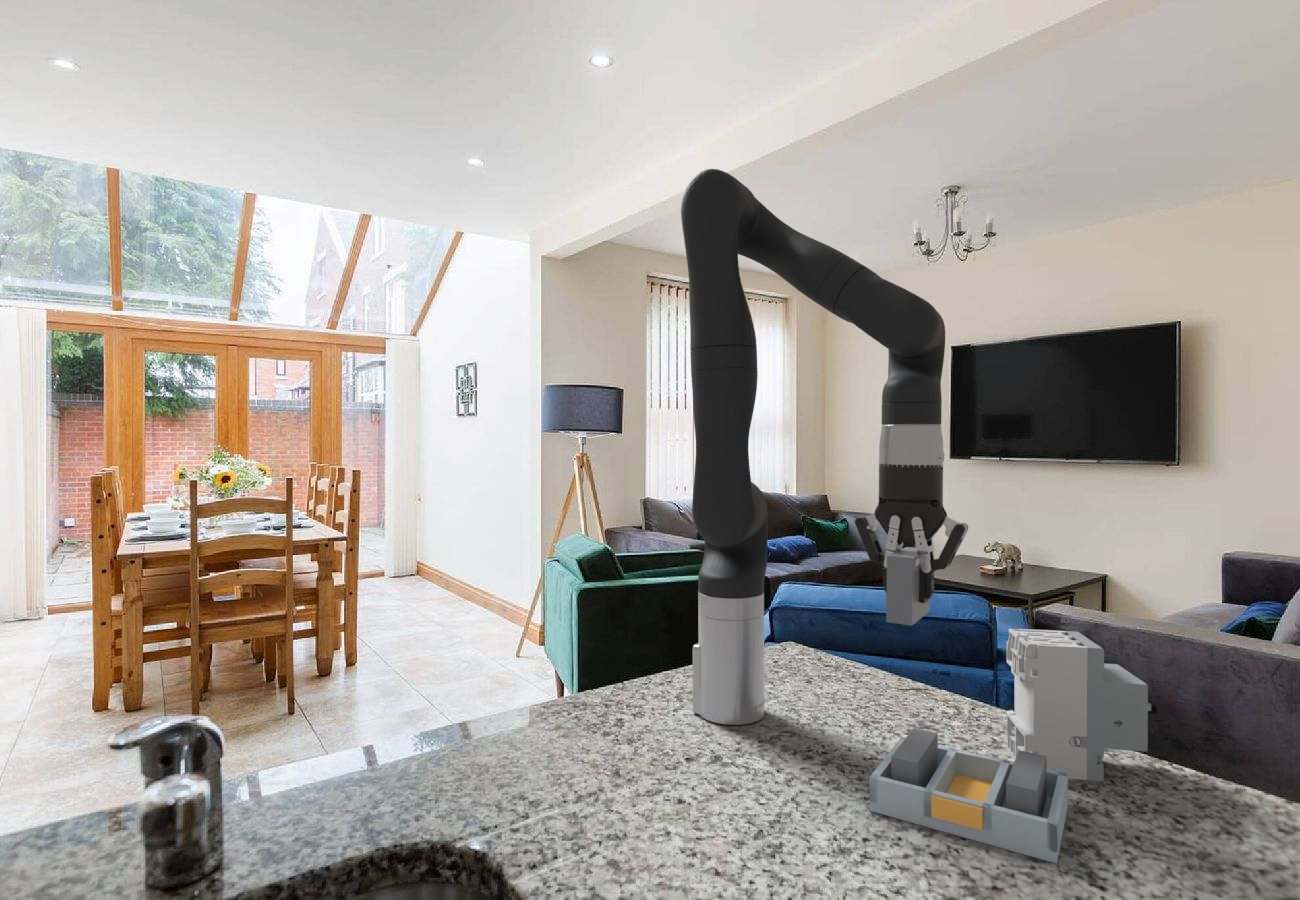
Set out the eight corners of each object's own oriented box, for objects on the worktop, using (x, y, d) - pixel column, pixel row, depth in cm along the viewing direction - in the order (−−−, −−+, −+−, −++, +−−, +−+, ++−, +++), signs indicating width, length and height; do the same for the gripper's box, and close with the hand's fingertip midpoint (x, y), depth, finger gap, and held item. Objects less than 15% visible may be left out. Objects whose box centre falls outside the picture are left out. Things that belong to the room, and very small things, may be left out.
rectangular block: (886, 621, 87) (886, 555, 87) (905, 607, 95) (906, 546, 95) (912, 625, 85) (912, 558, 85) (930, 611, 93) (930, 549, 93)
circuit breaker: (1164, 786, 80) (1165, 651, 80) (1024, 775, 83) (1025, 644, 83) (1133, 757, 87) (1134, 634, 87) (1006, 748, 90) (1006, 628, 90)
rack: (868, 811, 75) (868, 759, 75) (901, 766, 85) (901, 720, 85) (1056, 865, 65) (1056, 804, 65) (1067, 807, 75) (1067, 754, 75)
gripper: (845, 460, 91) (843, 598, 91) (965, 463, 83) (963, 613, 83) (864, 459, 97) (862, 588, 97) (977, 462, 89) (975, 601, 89)
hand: (909, 599), depth 90 cm, fingers closed on rectangular block, 3 cm apart
